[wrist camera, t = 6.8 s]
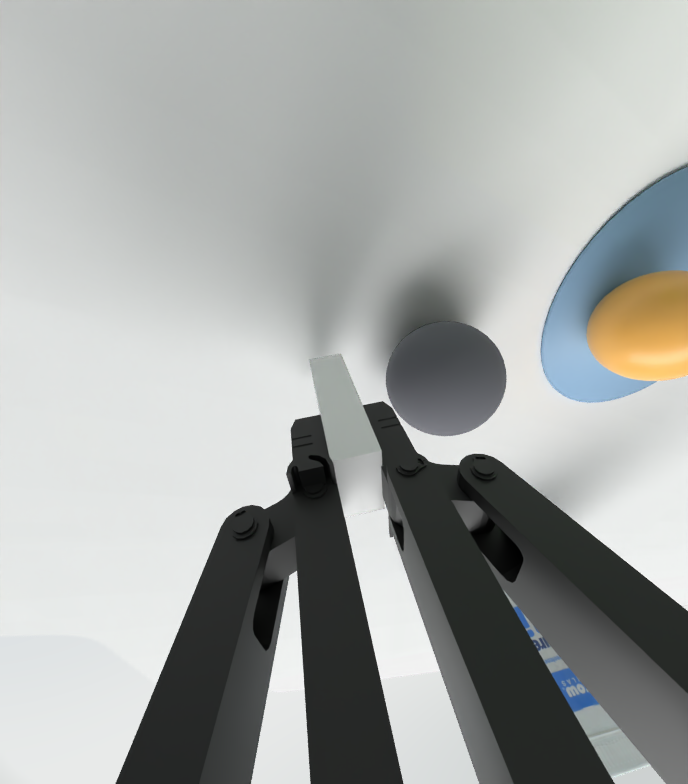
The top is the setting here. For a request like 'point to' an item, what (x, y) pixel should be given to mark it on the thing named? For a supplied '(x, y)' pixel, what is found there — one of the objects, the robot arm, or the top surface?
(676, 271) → the object ball
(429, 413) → the gray sphere
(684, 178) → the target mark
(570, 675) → the supplement tub
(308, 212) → the top surface
